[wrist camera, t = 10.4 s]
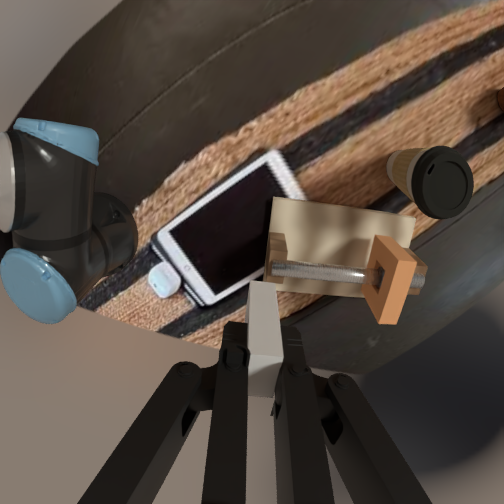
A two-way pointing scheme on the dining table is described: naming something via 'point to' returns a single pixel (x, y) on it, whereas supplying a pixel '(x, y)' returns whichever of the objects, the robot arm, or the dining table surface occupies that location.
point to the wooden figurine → (501, 98)
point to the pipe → (335, 273)
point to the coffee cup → (433, 179)
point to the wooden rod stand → (330, 241)
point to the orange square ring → (389, 279)
